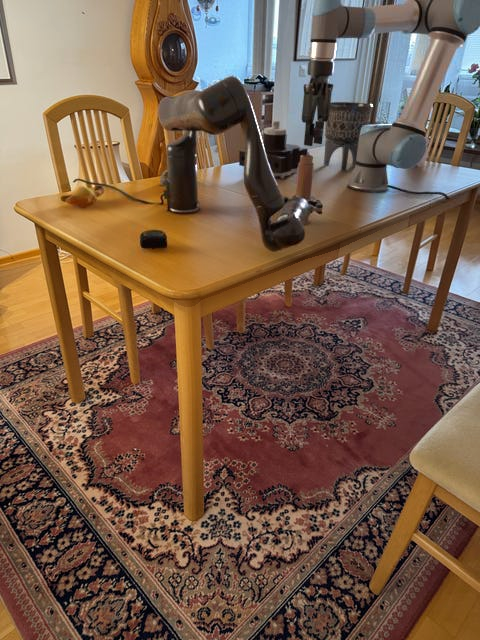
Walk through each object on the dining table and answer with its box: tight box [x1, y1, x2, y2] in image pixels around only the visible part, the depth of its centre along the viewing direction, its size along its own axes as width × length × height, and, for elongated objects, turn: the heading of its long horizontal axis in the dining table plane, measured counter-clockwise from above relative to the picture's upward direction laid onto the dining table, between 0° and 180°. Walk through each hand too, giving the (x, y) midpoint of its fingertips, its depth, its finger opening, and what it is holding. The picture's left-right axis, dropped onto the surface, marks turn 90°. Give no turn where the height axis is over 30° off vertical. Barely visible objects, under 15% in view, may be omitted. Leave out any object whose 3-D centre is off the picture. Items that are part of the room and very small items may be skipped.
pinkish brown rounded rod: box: [295, 154, 315, 225], centre depth 134 cm, size 4×4×19 cm
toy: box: [60, 185, 105, 208], centre depth 150 cm, size 11×6×15 cm
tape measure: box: [139, 229, 168, 250], centre depth 117 cm, size 7×7×4 cm
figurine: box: [415, 136, 430, 167], centre depth 213 cm, size 8×15×13 cm, turn 145°
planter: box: [323, 101, 374, 172], centre depth 204 cm, size 20×20×26 cm
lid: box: [313, 127, 324, 139], centre depth 142 cm, size 5×5×2 cm
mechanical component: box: [238, 120, 311, 179], centre depth 191 cm, size 22×21×30 cm
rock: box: [159, 168, 168, 187], centre depth 175 cm, size 13×9×6 cm, turn 131°
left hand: (304, 198), depth 138 cm, fingers closed on pinkish brown rounded rod, 4 cm apart
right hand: (312, 144), depth 144 cm, fingers closed on lid, 5 cm apart
